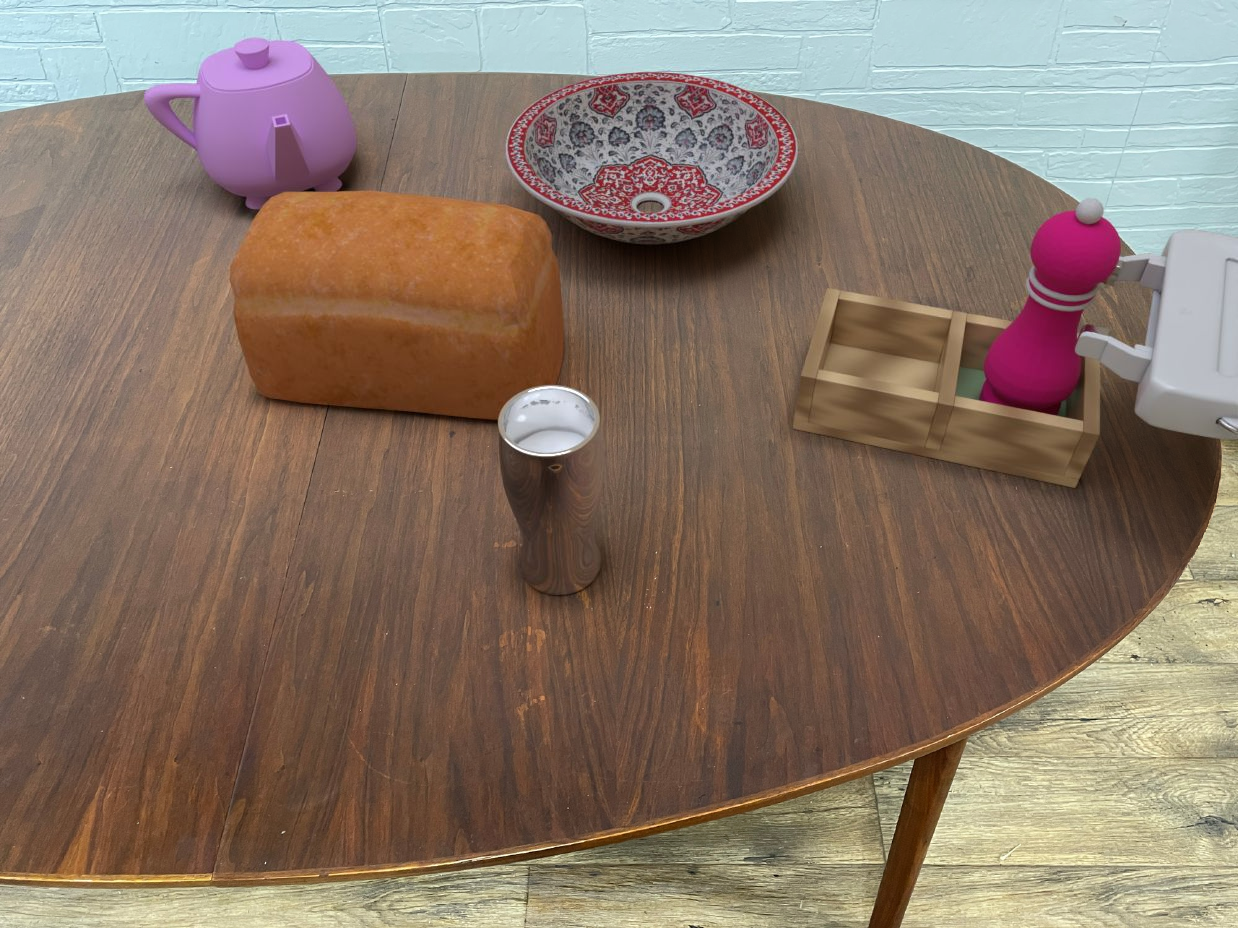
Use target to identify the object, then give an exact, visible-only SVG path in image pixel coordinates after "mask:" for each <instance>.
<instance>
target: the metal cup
mask: <svg viewBox="0 0 1238 928" xmlns="http://www.w3.org/2000/svg"><path fill="white" fill-rule="evenodd" d="M497 428H498V456H499V457H498V458H499V469H500V474H501V479H502V480H501V481H502V486H503V489H504V493H505V495H506V498H507V501H508V504H509V506H510V509H511V512H512V514H513V517H514V519H515V521H516V524H517V526H518V529H519V531H520V536H521V541H522V543H521V544H522V545H521V550H520V556H519V570H520V573H521V575H522V577H523V579H524V580H525V582H526V583H527V584H528V585H529V586H530V587H531V588H532V589H535V590H536V591H538V592H541V593H543V594H547V595H551V596H552V595H553V596H567V595H571V594H575V593H577V592H579V591H582V590H584V589H585V588H587V587H588V586H590V584H592V583H593V581H594V580H595V579H596V578H597V576H598V575H599V573H600V570H601V567H602V554H601V550H600V546H599V543H598V541H597V537H596V531H595V530H596V522H597V517H598V513H599V508H600V505H601V500H602V496H603V490H604V482H605V449H604V440H603V434H602V427H601V415H600V411H599V408H598V406H597V404H596V403H595V402H594V400H592V399H591V398H590V397H589V395H587V394H586V393H584V392H582V391H580V390H579V389H575V388H573V387H571V386H566V385H559V384H556V385H543V386H537V387H533V388H529V389H527V390H524V391H522V392H520V393H518V394H516V395H515V396H513V397H512V398H511V399H510V400H509V401H508V402H507V403H506V404H505V405H504V406H503V408H502V410H501V411H500V414H499V417H498V420H497Z"/></svg>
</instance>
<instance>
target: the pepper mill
mask: <svg viewBox="0 0 1238 928" xmlns="http://www.w3.org/2000/svg"><path fill="white" fill-rule="evenodd" d="M1104 209H1105V208H1104V205H1103V203H1102V202H1101V201H1100V200H1098V199H1097V198H1092V197H1090V198H1085V199H1083V200H1082V201H1080V202H1079V203H1078V204H1077V206H1076V209H1075V210H1074V209H1073V210H1066V211H1065V210H1064V211H1062V212H1059V213H1056V214H1054V215H1053V216H1051V217H1050V218H1049V217H1048V218H1047V219H1046V220H1045V221H1044V222H1043V223H1042V224H1041V225H1040V226H1039V228H1038V229H1037V231H1036V233H1035V234H1034V236H1033V238H1032V241H1031V244H1030V245H1031V246H1030V251H1029V252H1030V259H1031V262H1032V264H1033V265H1032V266H1031V268H1030V269H1029V272H1028V277H1027V278H1026V281H1025V289H1026V292H1027V293H1028V296H1027V299H1026V302H1025V304H1024V306H1023V308H1022V310H1021V311H1020V312H1019V314H1018V315H1017V317H1015V319H1014V320H1012V321H1013V322H1012V323H1011V324H1010V325H1009V326H1008V327H1007V328H1006V329H1005V330H1004V331H1003V332H1002V333H1001V334H1000V335H999V336H998V337H997V338H996V340H995V341H994V342H993V344H992V345H991V347H990V349H989V351H988V353H987V356H986V358H985V361H984V374H985V377H986V380H985V382H984V384H983V387H982V390H981V393H980V396H979V401H984V402H989V403H994V404H999V405H1004V406H1009V407H1015V408H1020V409H1025V410H1030V411H1035V412H1040V413H1045V414H1050V415H1055V416H1057V415H1058V412H1059V410H1060V407H1061V402H1062V401H1064V400H1066V399H1067V398H1068V397H1069V396H1070V395H1071V394H1072V393H1073V391H1074V390H1075V388H1076V386H1077V383H1078V379H1079V376H1080V369H1081V357H1080V355H1078V354H1076V352H1075V346H1076V343H1077V333H1078V330H1079V325H1080V322H1081V319H1082V315H1083V313H1084V311H1085V309H1087V308H1089V307H1091V306H1092V305H1093V304H1094V303H1095V301H1096V299H1097V295H1098V293H1099V291H1100V289H1101V283H1100V282H1102V281H1104V280H1105V279H1106V278H1108V277H1109V276H1110V275H1111V274H1112V272H1113V271H1114V270H1115V268H1116V266H1117V264H1118V261H1119V257H1120V256H1121V254H1122V241H1121V238H1120V234H1119V232H1118V230H1117V229H1116V228H1115V226H1114V225H1113V224H1112V223H1111V222H1110V221H1109V220H1108V219H1106V217H1103V215H1104V212H1105V211H1104Z"/></svg>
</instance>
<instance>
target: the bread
mask: <svg viewBox="0 0 1238 928" xmlns="http://www.w3.org/2000/svg"><path fill="white" fill-rule="evenodd" d="M552 244H553V235H552V232H551V230H550V228H549V226H548V224H547V222H546V220H544V218H542V216H541V215H539V214H537V213H533V212H529V211H527V210H523V209H520V208H517V207H514V206H510V205H507V204H501V203H492V202H484V201H476V200H466V199H459V198H449V197H441V196H432V195H421V194H408V193H397V192H388V191H379V190H344V191H335V192H317V191H300V192H283V193H280V194H278V195H276V196H273V197H271V198H270V199H269V200H268V201H267V202H266V203H265V204H264V205H263V206H262V208H261V209H259V211H258V212H257V214H255V216H254V218H253V220H252V221H251V224H250V225H249V228H248V230H247V232H246V234H245V236H244V238H243V240H242V242H241V244H240V246H239V248H238V250H237V251H236V254H235V256H234V258H233V260H232V261H231V263H230V266H229V267H230V269H229V283H230V287H231V291H232V294H233V297H234V298H233V311H232V314H233V319H234V325H235V329H236V335H237V338H238V342H239V346H240V349H241V351H242V354H243V358H244V361H245V363H246V366H247V370H248V372H249V376H250V378H251V380H252V382H253V383H254V385H255V388H256V389H257V391H258V393H259V395H262V396H264V397H266V398H267V399H268V398H269V399H276V400H282V401H289V402H297V403H303V404H311V405H312V404H314V405H325V406H326V405H327V406H338V407H349V408H359V409H375V410H388V411H398V412H399V411H401V412H414V413H424V414H433V415H439V416H440V415H441V416H448V417H449V416H450V417H456V418H457V417H458V418H468V419H480V420H490V421H491V420H492V421H498V417H499V414H500V411H501V410H502V408H503V406H504V405H505V404H506V403H507V402H508V401H509V400H510V399H511V398H512V397H513V396H515V395H516V394H518V393H520V392H522V391H524V390H527V389H529V388H533V387H537V386H543V385H557V383H558V379H559V377H560V373H561V368H562V365H563V361H564V348H565V347H564V346H565V322H564V310H563V296H562V285H561V275H560V267H559V260H558V257H557V255H556V254H555V252H554V250H553V249H552V246H553V245H552Z"/></svg>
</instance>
